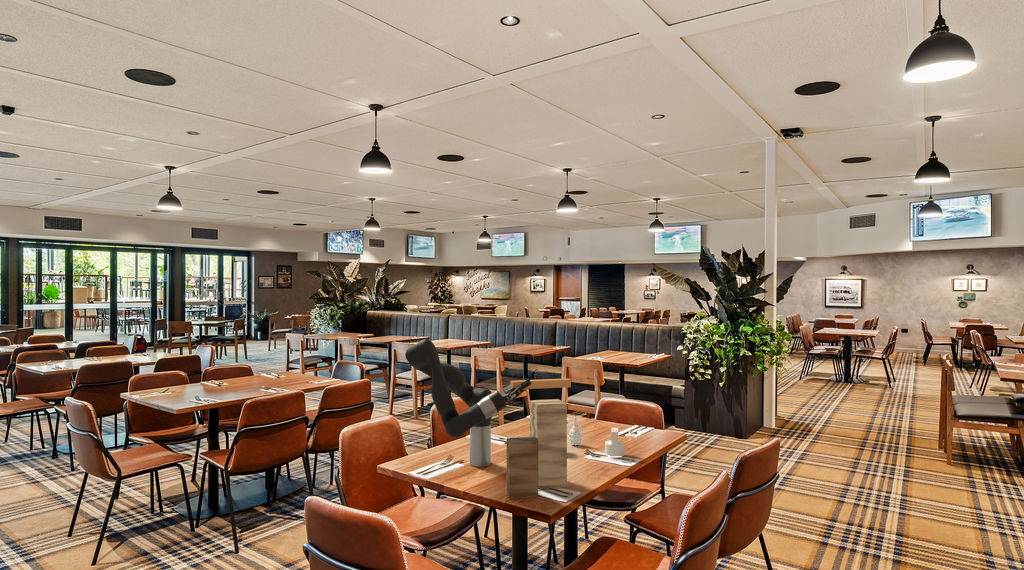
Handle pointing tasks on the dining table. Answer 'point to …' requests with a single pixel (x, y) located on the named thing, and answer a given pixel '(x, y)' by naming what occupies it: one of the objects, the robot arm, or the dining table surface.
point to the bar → (544, 383)
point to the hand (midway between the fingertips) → (528, 380)
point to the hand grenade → (575, 434)
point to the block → (522, 467)
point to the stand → (550, 441)
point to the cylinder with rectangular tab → (614, 445)
